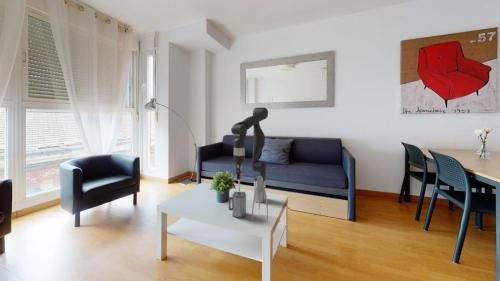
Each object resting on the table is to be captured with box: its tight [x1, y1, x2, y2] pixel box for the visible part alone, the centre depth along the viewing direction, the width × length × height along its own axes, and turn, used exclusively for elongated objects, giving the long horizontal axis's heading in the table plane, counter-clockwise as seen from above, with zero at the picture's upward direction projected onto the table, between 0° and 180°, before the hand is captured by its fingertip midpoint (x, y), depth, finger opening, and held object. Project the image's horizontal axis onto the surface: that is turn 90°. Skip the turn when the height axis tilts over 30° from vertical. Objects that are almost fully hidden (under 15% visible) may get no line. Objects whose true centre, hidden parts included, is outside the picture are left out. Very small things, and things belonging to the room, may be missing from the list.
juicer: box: [251, 176, 269, 222], centre depth 137 cm, size 10×9×30 cm
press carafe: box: [228, 191, 247, 219], centre depth 142 cm, size 9×12×15 cm
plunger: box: [238, 172, 243, 194], centre depth 140 cm, size 7×7×18 cm
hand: (239, 177), depth 139 cm, fingers open, 8 cm apart
